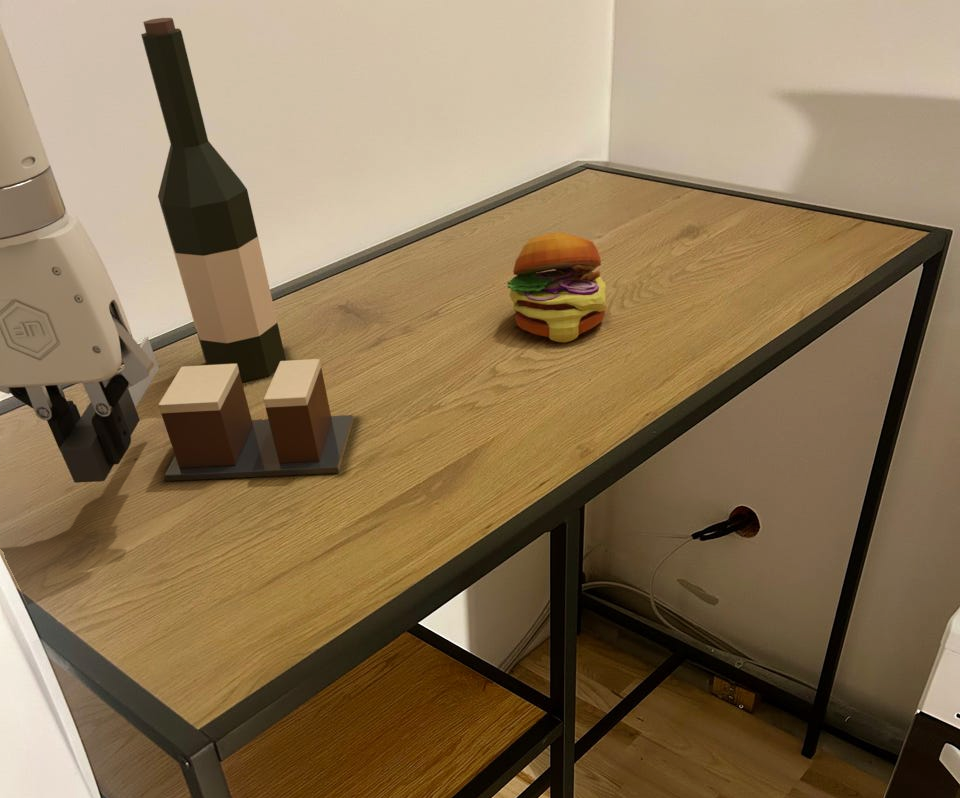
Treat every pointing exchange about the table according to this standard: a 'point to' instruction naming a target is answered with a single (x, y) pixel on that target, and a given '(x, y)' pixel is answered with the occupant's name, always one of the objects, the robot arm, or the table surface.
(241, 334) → the wine bottle
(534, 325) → the cheeseburger
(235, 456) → the cake
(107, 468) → the knife
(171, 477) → the board
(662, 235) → the table surface
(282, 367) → the cake slice
